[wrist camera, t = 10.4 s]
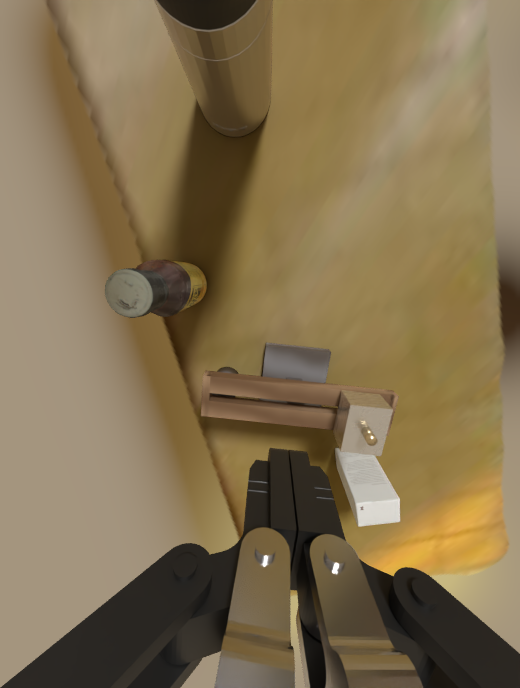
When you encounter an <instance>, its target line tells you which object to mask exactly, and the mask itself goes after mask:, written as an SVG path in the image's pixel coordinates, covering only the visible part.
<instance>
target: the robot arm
mask: <svg viewBox="0 0 520 688" xmlns="http://www.w3.org/2000/svg"><path fill="white" fill-rule="evenodd" d="M155 3H156V5H157V7H158V10H159V12H160V14H161V17H162V19H163V21H164V24H165V26H166V28H167V30H168V33H169V35H170V37H171V40H172V42H173V44H174V47H175V49H176V52H177V54H178V56H179V59H180V61H181V63H182V66H183V68H184V70H185V73H186V75H187V77H188V80H189V82H190V85H191V87H192V89H193V92H194V94H195V97H196V99H197V101H198V104H199V106H200V108H201V111H202V113H203V115H204V117H205V118H206V120H207V122H208V123H209V124H210V125H211V127H213V128H214V129H215V130H216V131H218V132H219V133H221V134H223V135H226V136H230V137H240V136H244V135H247V134H249V133H251V132H253V131H254V130H255V129H256V128H257V127H259V125H260V124H261V123H262V121H263V120H264V119H265V116H266V114H267V112H268V109H269V105H270V100H271V74H272V10H273V0H155ZM290 590H297V593H298V605H299V606H298V611H297V616H296V624H297V632H298V639H299V646H300V653H301V661H302V668H303V675H304V682H305V688H520V654H519V653H518V652H517V651H516V650H515V649H514V648H512V647H511V646H510V645H509V644H508V643H507V642H506V641H504V640H503V639H502V638H501V637H500V636H499V635H497V634H496V633H495V632H494V631H493V630H492V629H490V628H489V627H488V626H487V625H486V624H485V623H484V622H482V621H481V620H480V619H479V618H478V617H477V616H476V615H474V614H473V613H472V612H471V611H470V610H469V609H467V608H466V607H465V606H464V605H463V604H462V603H461V602H459V601H458V600H457V599H456V598H454V596H452V595H451V594H450V593H449V592H448V591H447V590H445V589H444V588H443V587H442V586H441V585H440V584H438V583H437V582H436V581H435V580H434V579H432V578H431V577H430V576H429V575H427V574H426V573H424V572H422V571H420V570H417V569H414V568H408V567H405V568H401V569H399V570H398V571H396V573H395V575H394V576H391V575H389V574H387V573H384V572H382V571H380V570H377V569H375V568H373V567H371V566H369V565H367V564H366V563H364V562H363V561H361V560H360V559H359V558H358V555H357V553H356V552H355V550H354V549H353V548H352V546H351V545H350V544H348V543H347V542H346V540H345V537H344V533H343V530H342V526H341V522H340V519H339V515H338V512H337V508H336V505H335V501H334V499H333V494H332V491H331V487H330V483H329V480H328V477H327V475H326V474H325V473H324V472H323V470H322V469H321V468H320V467H318V466H310V463H309V458H308V454H307V452H304V451H294V450H284V449H275V448H270V449H269V455H268V461H260V460H256V461H255V462H254V464H253V465H252V466H251V468H250V472H249V481H248V490H247V499H246V510H245V521H244V531H243V535H242V537H241V539H240V540H239V541H238V543H237V544H236V545H235V546H233V547H232V548H230V549H228V550H226V551H223V552H219V553H215V554H211V555H209V553H208V552H207V551H206V550H205V549H204V548H203V547H201V546H200V545H197V544H192V543H188V544H187V543H186V544H182V545H179V546H176V547H174V548H173V549H171V550H170V551H169V552H167V553H166V554H165V555H164V556H162V557H161V558H160V559H159V560H158V561H156V562H155V563H154V564H153V565H151V566H150V567H149V568H148V569H146V570H145V571H144V572H143V573H142V574H140V575H139V576H138V577H137V578H135V579H134V580H133V581H132V582H130V583H129V584H128V585H127V586H125V587H124V588H123V589H122V590H120V591H119V592H118V593H117V594H116V595H114V596H113V597H112V598H111V599H109V600H108V601H107V602H106V603H104V604H103V605H102V606H101V607H99V608H98V609H97V610H96V611H95V612H93V613H92V614H91V615H90V616H88V617H87V618H86V619H85V620H83V621H82V622H81V623H80V624H78V625H77V626H76V627H75V628H74V629H72V630H71V631H70V632H69V633H67V634H66V635H65V636H64V637H63V638H61V639H60V640H59V641H57V642H56V643H55V644H54V645H53V646H51V647H50V648H49V649H48V650H46V651H45V652H44V653H43V654H41V655H40V656H39V657H38V658H37V659H35V660H34V661H33V662H32V663H30V664H29V665H28V666H27V667H25V668H24V669H23V670H22V671H20V672H19V673H18V674H17V675H16V676H14V677H13V678H12V679H11V680H9V681H8V682H7V683H6V684H4V685H3V686H2V687H1V688H180V687H181V686H182V685H183V684H184V682H185V681H186V679H187V678H188V677H189V676H190V674H191V673H192V672H193V670H194V669H195V668H196V667H197V666H198V664H199V663H200V661H201V660H202V658H203V657H206V656H209V655H211V654H214V653H217V652H219V651H221V655H220V660H219V665H218V672H217V677H216V683H215V688H295V664H294V650H293V647H292V646H291V638H290Z"/></svg>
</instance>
